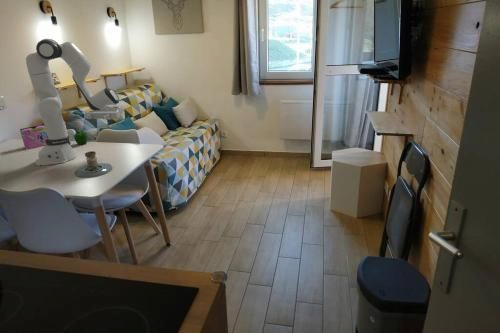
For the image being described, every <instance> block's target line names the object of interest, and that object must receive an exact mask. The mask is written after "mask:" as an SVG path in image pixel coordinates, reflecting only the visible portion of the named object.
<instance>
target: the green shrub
mask: <svg viewBox="0 0 500 333" xmlns="http://www.w3.org/2000/svg"><path fill="white" fill-rule="evenodd" d="M73 139H74V141H75V142H76V145H79V146H82V145H86V144H87V143H88V134H87V133H86V132H82V131H81V129H78V132H76V133H75V134H74V135H73Z"/></svg>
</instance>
